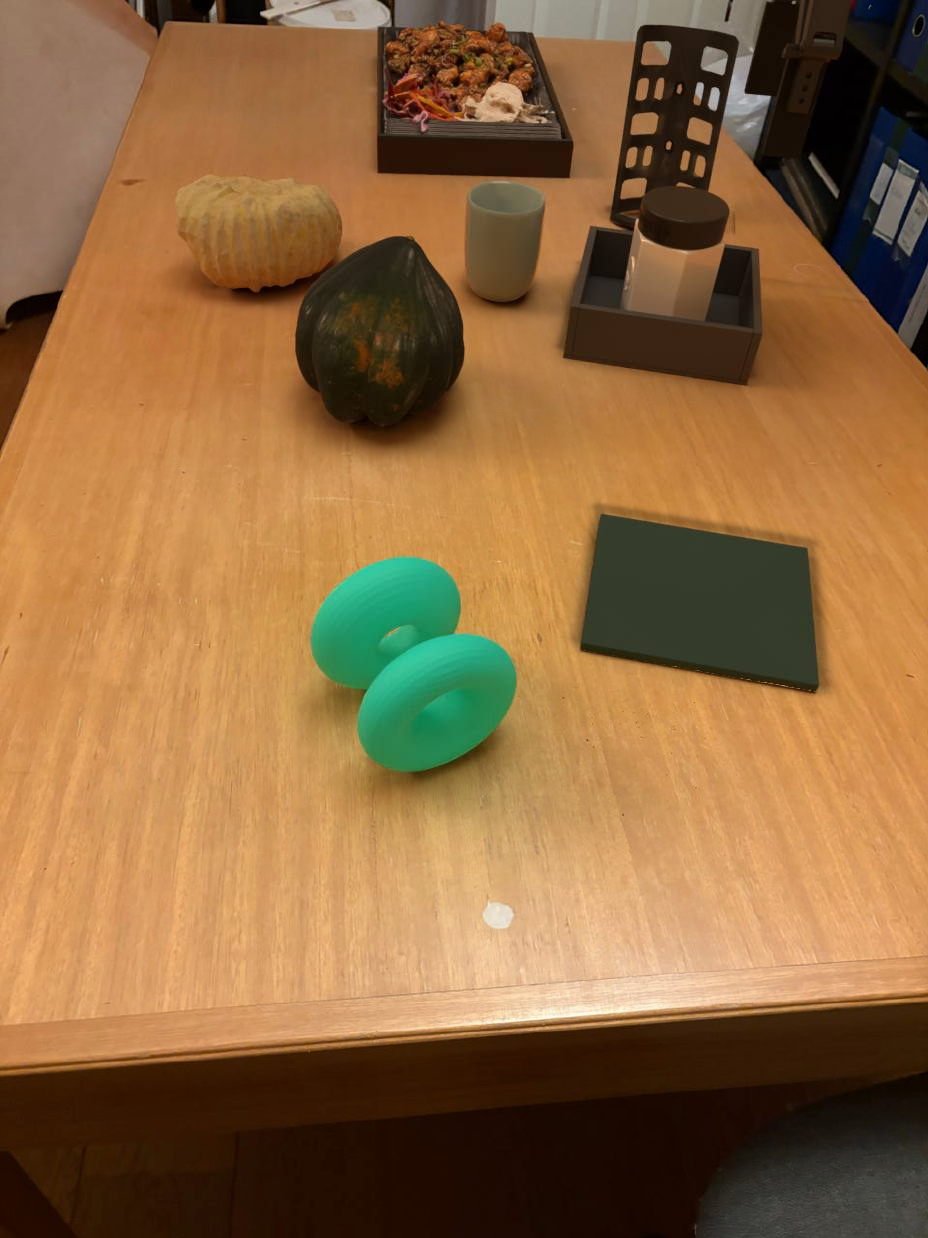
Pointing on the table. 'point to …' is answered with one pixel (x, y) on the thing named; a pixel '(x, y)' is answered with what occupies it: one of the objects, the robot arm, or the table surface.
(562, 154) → the food platter
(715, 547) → the mat
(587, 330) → the tub
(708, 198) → the jar
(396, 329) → the squash
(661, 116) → the holder
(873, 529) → the table surface
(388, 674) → the donuts
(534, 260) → the cup
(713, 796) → the table surface
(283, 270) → the pale yellow ribbed round
